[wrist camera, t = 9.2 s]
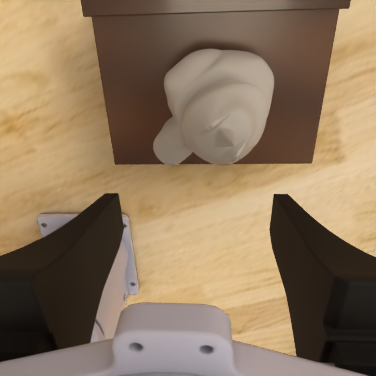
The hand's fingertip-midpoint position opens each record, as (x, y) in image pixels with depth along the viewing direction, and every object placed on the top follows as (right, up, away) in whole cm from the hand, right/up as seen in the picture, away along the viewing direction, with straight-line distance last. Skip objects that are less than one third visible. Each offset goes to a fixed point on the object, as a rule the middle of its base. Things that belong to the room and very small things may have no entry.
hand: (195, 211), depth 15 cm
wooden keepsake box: (+1, +9, +7) cm, 11 cm away
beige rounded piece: (+1, +6, +3) cm, 7 cm away
